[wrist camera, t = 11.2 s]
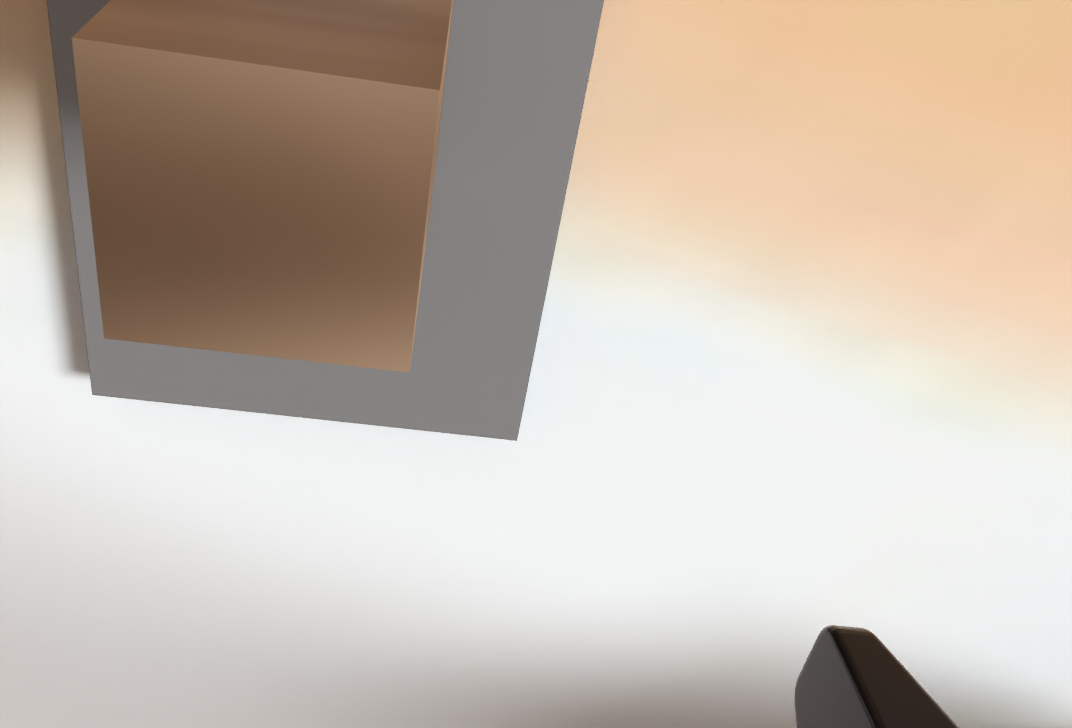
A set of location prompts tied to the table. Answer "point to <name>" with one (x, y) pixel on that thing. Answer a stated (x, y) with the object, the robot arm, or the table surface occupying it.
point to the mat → (450, 253)
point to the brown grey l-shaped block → (263, 172)
